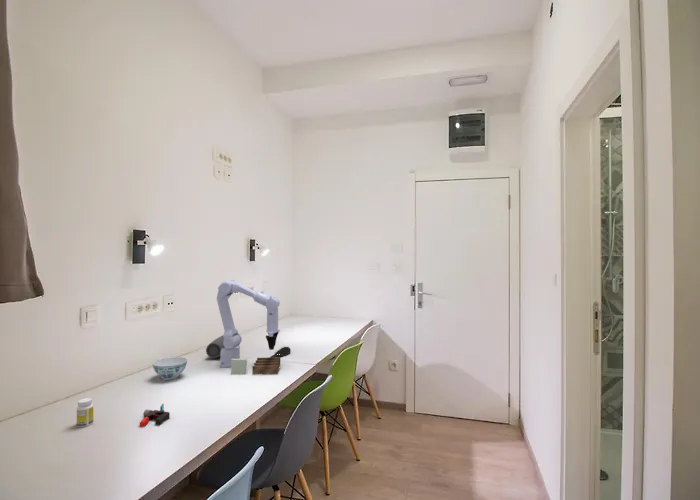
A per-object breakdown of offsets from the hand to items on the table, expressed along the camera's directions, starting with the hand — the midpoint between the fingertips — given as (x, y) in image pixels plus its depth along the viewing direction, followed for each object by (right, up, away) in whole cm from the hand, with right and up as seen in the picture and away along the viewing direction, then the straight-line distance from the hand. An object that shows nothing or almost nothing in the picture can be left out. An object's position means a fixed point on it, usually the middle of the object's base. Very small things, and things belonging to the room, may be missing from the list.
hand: (272, 347), depth 200 cm
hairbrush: (-1, -11, +18) cm, 21 cm away
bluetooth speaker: (-34, -10, +22) cm, 42 cm away
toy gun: (-30, -11, -64) cm, 71 cm away
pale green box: (-14, -10, -11) cm, 21 cm away
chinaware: (-45, -10, -18) cm, 49 cm away
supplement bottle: (-51, -10, -67) cm, 85 cm away
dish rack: (-2, -10, -5) cm, 11 cm away
